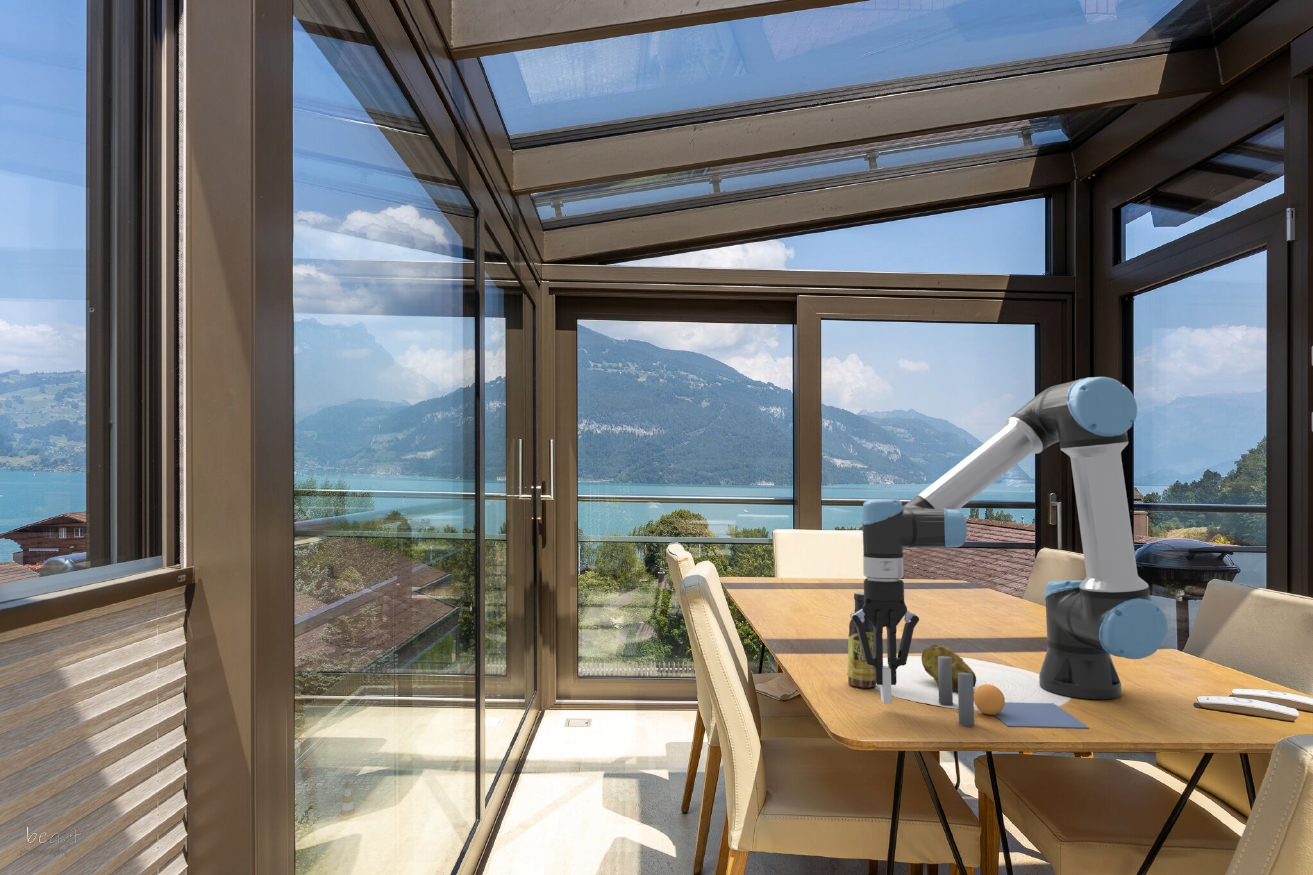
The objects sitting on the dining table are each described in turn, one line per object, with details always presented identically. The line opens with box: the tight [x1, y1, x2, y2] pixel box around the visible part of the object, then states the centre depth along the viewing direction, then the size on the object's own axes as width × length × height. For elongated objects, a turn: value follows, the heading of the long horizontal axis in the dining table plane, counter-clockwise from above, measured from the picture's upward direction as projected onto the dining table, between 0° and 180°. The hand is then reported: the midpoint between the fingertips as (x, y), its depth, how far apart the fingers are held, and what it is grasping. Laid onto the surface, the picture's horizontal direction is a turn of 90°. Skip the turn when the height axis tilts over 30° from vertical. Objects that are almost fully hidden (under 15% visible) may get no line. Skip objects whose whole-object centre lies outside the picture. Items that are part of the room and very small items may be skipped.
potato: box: [920, 644, 977, 691], centre depth 159 cm, size 8×13×8 cm, turn 3°
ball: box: [973, 683, 1006, 716], centre depth 140 cm, size 6×6×6 cm
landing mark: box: [994, 701, 1089, 729], centre depth 140 cm, size 14×14×1 cm
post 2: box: [957, 672, 975, 728], centre depth 135 cm, size 3×3×9 cm
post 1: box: [937, 656, 954, 706], centre depth 147 cm, size 3×3×9 cm
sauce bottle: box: [847, 591, 877, 689], centre depth 160 cm, size 6×6×20 cm
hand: (886, 701), depth 142 cm, fingers closed
